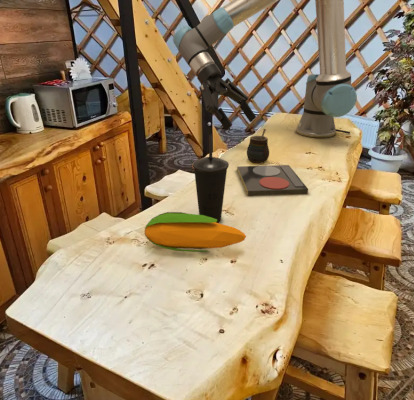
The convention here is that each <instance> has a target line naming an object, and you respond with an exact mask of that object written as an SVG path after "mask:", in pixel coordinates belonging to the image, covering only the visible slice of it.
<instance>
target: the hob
mask: <svg viewBox="0 0 414 400" xmlns="http://www.w3.org/2000/svg"><path fill="white" fill-rule="evenodd" d="M236 172H237V174H238V177H239V179H240V181H241V184H242V187H243V188H244V191H245V193H246V195H247V197H262V196H264V197H265V196H292V195H293V196H294V195H296V196H297V195H308V193H309V188H308V187H307V185H306V184H305V183H304V182H303V180H302V179H301V178H300V177H299V176H298V174H296V172H295V171H294V170H293V168H292V167H291V166H290V165H289V164H279V165H277V164H276V165H244V166H243V165H242V166H241V165H240V166H239V165H238V166H236Z"/></svg>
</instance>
